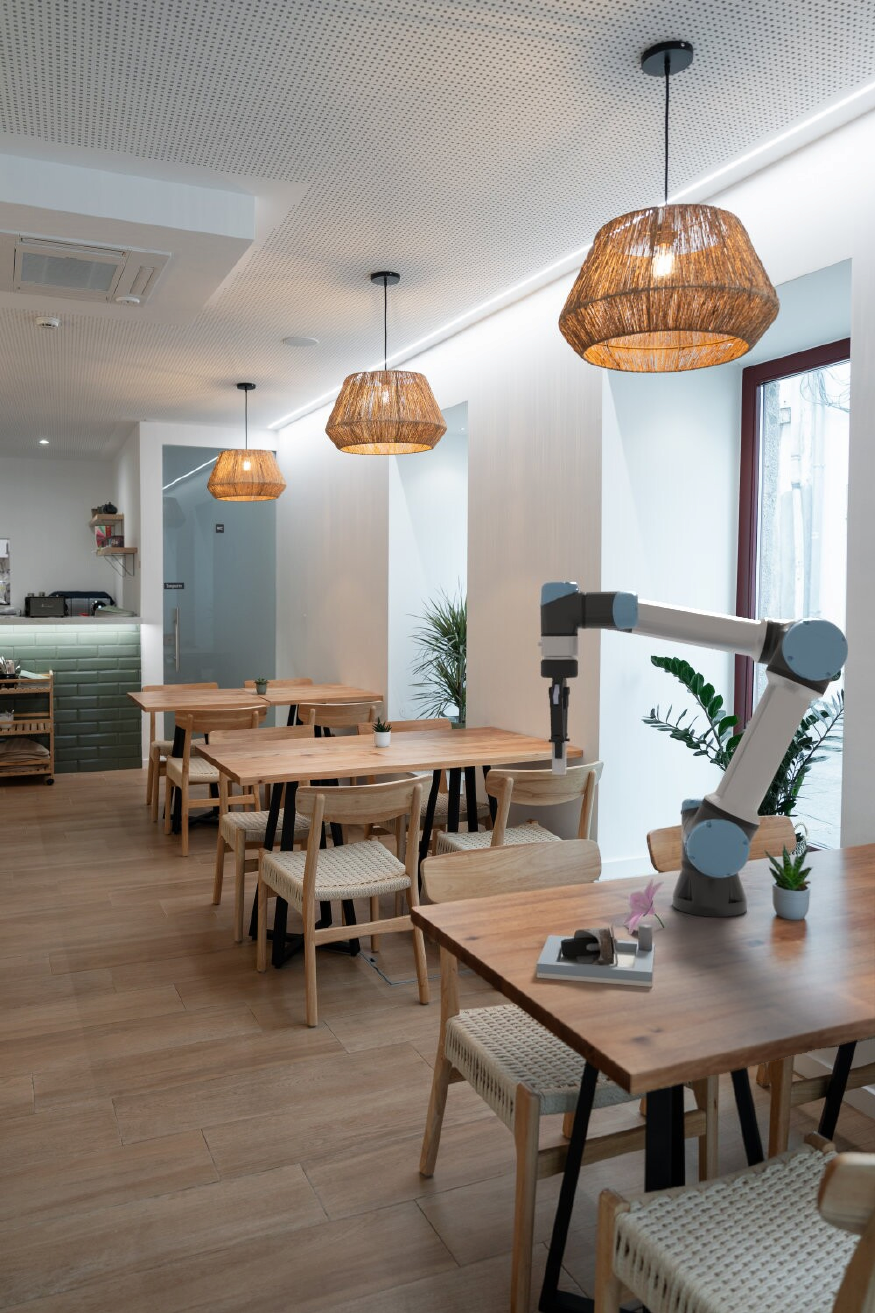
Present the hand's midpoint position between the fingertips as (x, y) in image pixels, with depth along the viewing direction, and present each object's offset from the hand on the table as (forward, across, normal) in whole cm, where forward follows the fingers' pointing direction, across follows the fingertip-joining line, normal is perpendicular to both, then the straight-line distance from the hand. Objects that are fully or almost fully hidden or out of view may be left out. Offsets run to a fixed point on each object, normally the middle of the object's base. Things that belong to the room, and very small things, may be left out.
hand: (559, 774), depth 201 cm
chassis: (+29, +28, +10) cm, 42 cm away
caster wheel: (+29, +28, +9) cm, 41 cm away
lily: (+30, +3, +17) cm, 34 cm away
